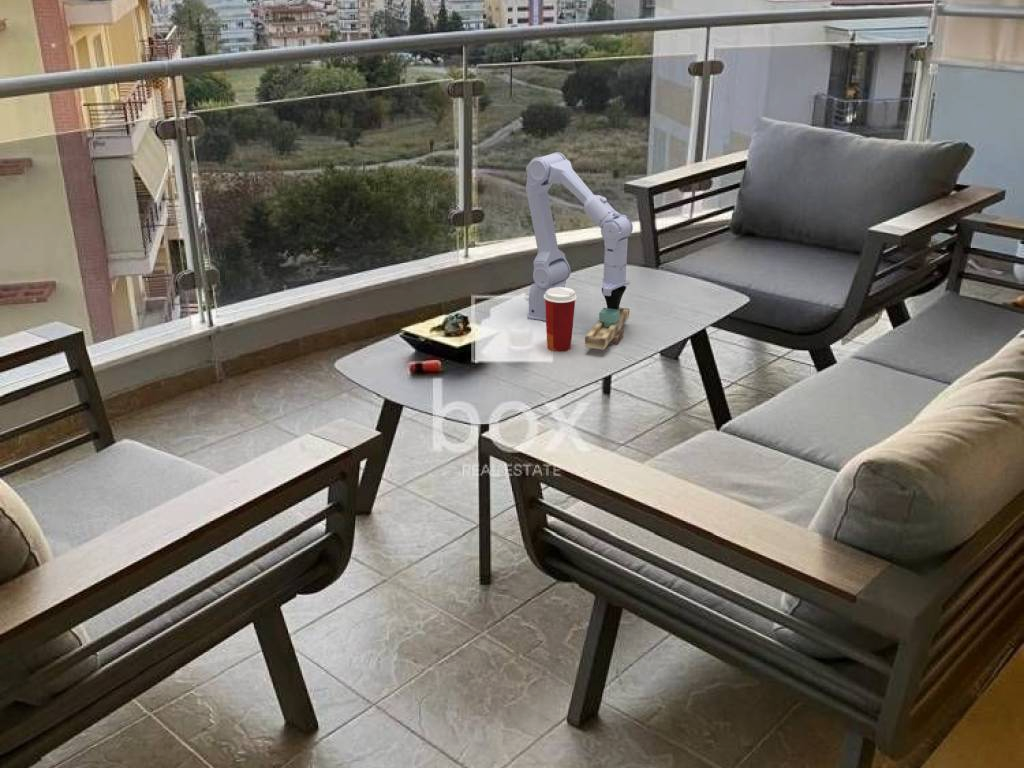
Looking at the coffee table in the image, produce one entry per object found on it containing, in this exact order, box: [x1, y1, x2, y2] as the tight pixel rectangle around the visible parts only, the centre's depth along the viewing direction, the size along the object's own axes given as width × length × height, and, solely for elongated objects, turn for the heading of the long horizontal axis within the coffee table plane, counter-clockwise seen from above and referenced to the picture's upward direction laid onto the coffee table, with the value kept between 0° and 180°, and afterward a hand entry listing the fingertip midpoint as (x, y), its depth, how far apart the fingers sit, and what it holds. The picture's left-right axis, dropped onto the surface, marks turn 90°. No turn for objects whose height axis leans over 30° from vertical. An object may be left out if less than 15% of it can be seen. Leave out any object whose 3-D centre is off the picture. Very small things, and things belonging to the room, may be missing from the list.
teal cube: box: [598, 307, 620, 327], centre depth 262 cm, size 4×4×4 cm
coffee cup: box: [544, 286, 578, 353], centre depth 255 cm, size 8×8×15 cm
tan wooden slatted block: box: [584, 306, 630, 351], centre depth 263 cm, size 24×7×5 cm, turn 159°
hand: (612, 313), depth 265 cm, fingers closed
